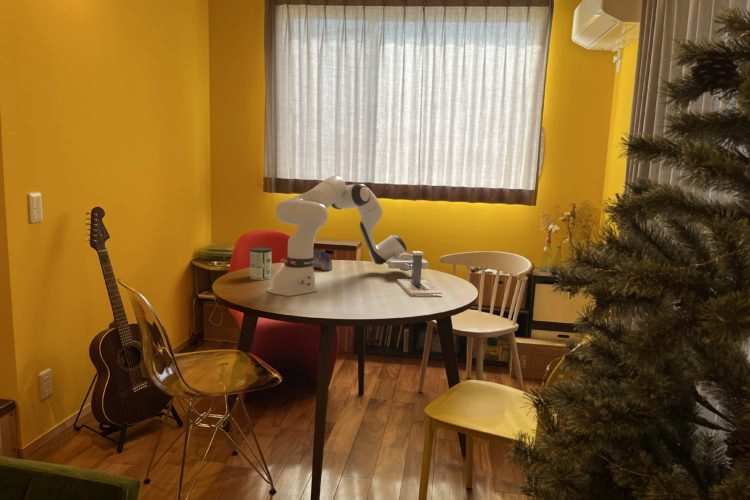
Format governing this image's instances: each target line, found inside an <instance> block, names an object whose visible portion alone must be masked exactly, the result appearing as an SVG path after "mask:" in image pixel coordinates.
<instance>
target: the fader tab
mask: <svg viewBox="0 0 750 500" xmlns="http://www.w3.org/2000/svg"><path fill="white" fill-rule="evenodd" d="M411 255H413V263H412V270H411V279H412V280H411V283H412V284H413V285H414V286H420V283H421V279H422V269H421V266H422V258H423V256H424V252H423V251H420V250H417V251H416V250H412V251H411Z"/></svg>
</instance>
